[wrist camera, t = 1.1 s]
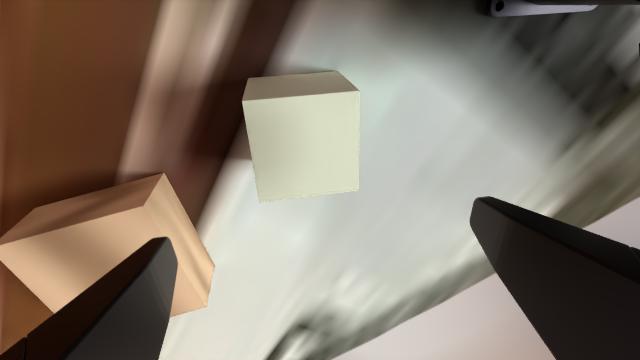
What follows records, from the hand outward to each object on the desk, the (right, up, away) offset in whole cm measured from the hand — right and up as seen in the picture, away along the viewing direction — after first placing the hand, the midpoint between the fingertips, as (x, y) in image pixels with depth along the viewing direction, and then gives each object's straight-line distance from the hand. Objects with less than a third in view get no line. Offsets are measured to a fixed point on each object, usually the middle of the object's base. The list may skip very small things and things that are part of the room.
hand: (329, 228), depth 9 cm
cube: (-2, +5, +10) cm, 11 cm away
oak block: (-13, -2, +12) cm, 18 cm away
